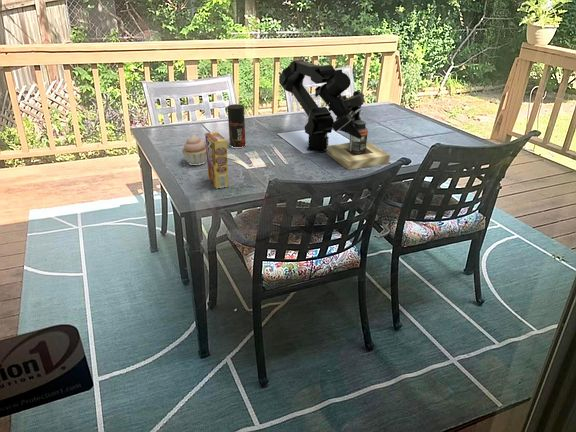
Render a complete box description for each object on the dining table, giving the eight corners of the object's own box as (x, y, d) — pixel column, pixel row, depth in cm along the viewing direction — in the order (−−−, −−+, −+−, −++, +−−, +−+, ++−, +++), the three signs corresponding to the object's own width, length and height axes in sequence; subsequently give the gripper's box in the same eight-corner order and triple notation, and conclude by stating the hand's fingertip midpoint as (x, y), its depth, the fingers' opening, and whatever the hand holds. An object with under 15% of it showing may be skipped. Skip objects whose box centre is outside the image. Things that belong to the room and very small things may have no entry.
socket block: (348, 170, 155) (348, 161, 154) (326, 153, 168) (327, 145, 167) (388, 163, 161) (389, 155, 159) (365, 147, 174) (365, 140, 172)
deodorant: (238, 141, 179) (236, 103, 171) (248, 145, 175) (247, 106, 168) (226, 145, 175) (224, 106, 168) (236, 149, 171) (234, 109, 164)
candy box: (230, 187, 143) (227, 140, 136) (216, 189, 142) (213, 142, 134) (220, 176, 150) (217, 131, 143) (207, 178, 149) (203, 133, 141)
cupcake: (207, 156, 166) (205, 129, 161) (212, 166, 158) (210, 137, 153) (181, 159, 163) (178, 131, 158) (184, 169, 155) (181, 140, 150)
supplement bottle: (354, 148, 167) (357, 117, 162) (368, 152, 164) (372, 121, 159) (345, 153, 163) (347, 122, 158) (359, 157, 160) (362, 125, 155)
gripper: (344, 91, 146) (375, 129, 148) (358, 78, 161) (386, 113, 163) (319, 112, 152) (349, 149, 154) (334, 98, 167) (362, 131, 169)
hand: (362, 135), depth 160 cm, fingers closed on supplement bottle, 6 cm apart
